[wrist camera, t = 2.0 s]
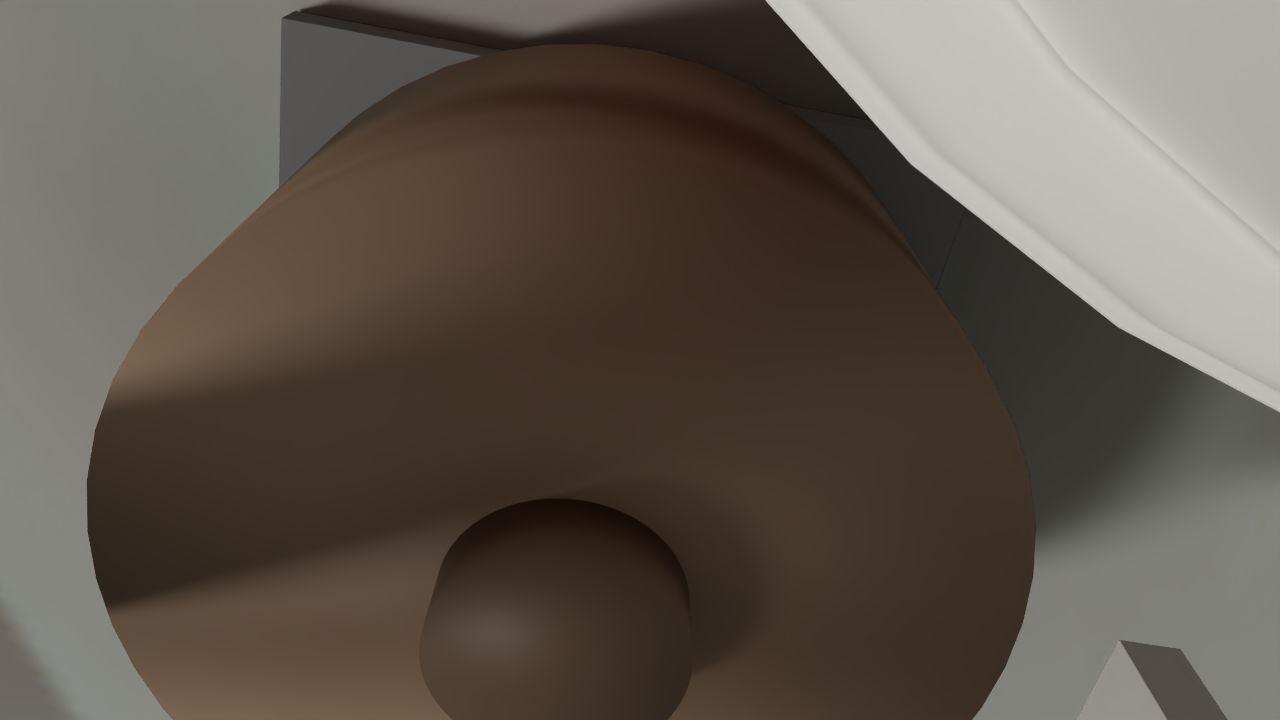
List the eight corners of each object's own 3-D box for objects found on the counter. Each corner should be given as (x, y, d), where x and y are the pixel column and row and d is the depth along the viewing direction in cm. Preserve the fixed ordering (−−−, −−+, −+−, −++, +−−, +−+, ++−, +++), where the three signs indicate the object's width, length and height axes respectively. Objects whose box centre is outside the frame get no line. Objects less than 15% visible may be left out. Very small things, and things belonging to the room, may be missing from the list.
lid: (244, -29, 13) (-29, 66, 8) (1030, 124, 14) (1260, 301, 9) (246, 596, 18) (81, 908, 13) (823, 680, 19) (888, 1003, 14)
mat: (295, 11, 14) (281, 18, 13) (973, 140, 15) (985, 151, 14) (284, 558, 19) (273, 579, 18) (800, 635, 19) (804, 658, 19)
